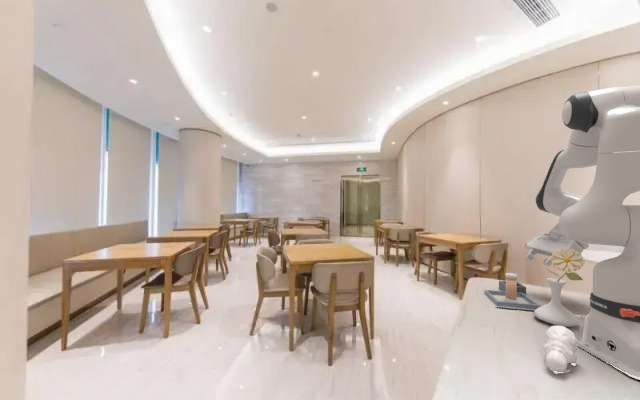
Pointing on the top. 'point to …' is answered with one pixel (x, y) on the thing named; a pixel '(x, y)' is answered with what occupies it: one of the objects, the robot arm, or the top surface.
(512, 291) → the tan bottle
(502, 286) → the socket block
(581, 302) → the top surface
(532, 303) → the parts tray
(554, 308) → the flower in vase
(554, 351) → the white lumpy oval piece
